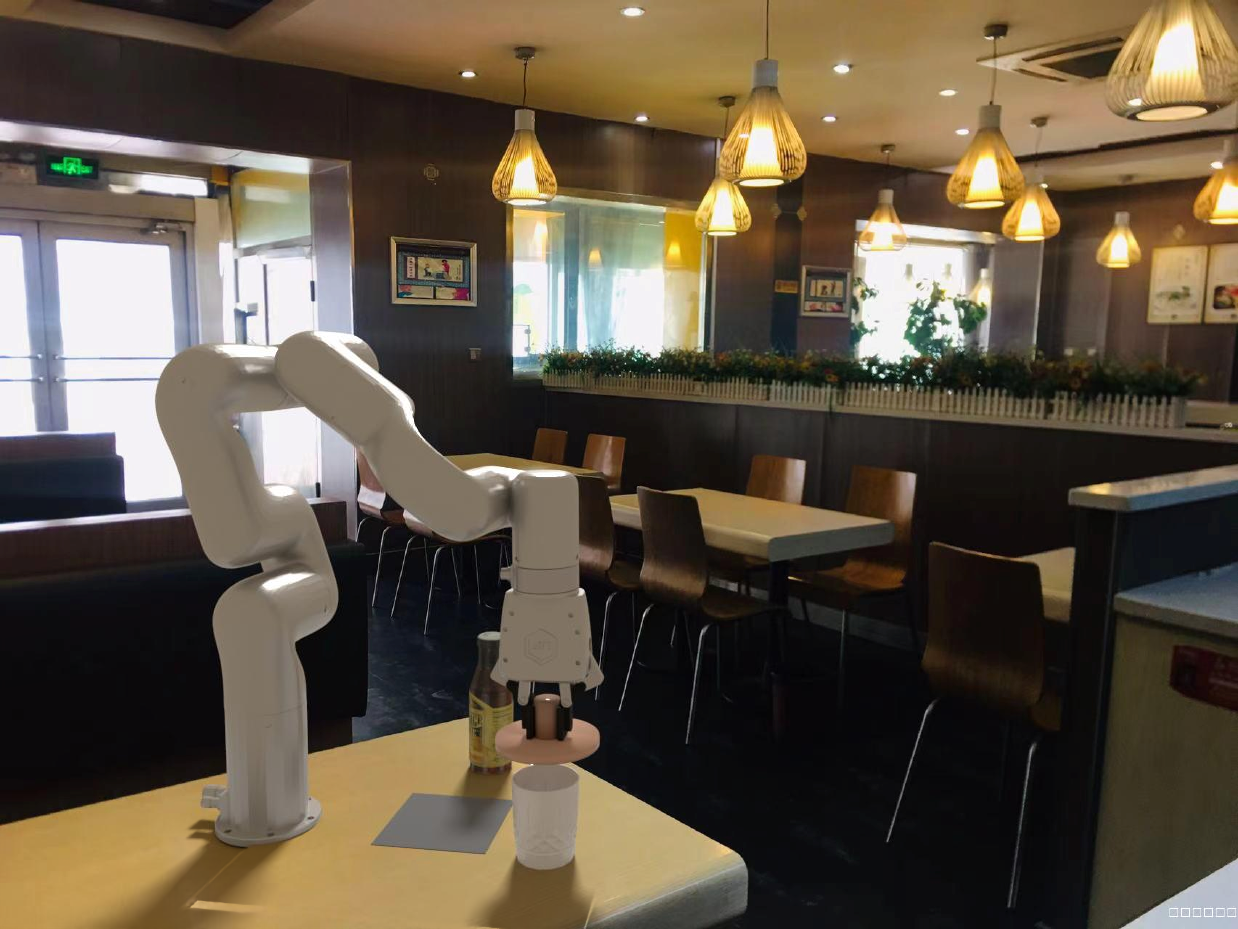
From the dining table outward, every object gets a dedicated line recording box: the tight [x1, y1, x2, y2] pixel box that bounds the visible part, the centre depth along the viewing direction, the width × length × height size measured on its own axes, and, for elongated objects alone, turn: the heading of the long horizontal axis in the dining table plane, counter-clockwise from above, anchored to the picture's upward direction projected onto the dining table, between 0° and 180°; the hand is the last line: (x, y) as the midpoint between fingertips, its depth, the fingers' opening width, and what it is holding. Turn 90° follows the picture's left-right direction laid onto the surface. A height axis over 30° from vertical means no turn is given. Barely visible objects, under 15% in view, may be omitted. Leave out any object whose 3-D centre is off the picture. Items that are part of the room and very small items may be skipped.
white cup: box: [510, 764, 580, 871], centre depth 110 cm, size 8×8×10 cm
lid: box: [495, 693, 601, 766], centre depth 108 cm, size 12×12×5 cm
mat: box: [370, 792, 513, 855], centre depth 118 cm, size 14×14×1 cm
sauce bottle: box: [468, 631, 514, 776], centre depth 134 cm, size 7×6×20 cm
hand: (547, 734), depth 109 cm, fingers closed on lid, 3 cm apart
